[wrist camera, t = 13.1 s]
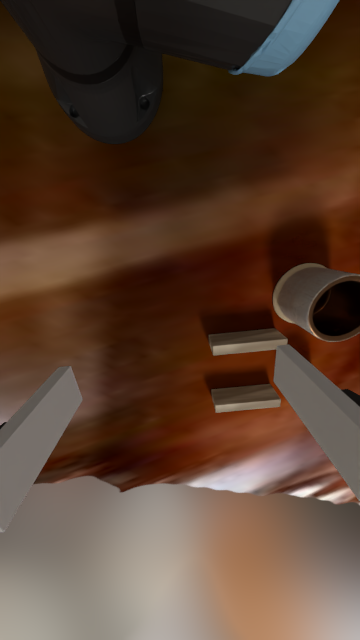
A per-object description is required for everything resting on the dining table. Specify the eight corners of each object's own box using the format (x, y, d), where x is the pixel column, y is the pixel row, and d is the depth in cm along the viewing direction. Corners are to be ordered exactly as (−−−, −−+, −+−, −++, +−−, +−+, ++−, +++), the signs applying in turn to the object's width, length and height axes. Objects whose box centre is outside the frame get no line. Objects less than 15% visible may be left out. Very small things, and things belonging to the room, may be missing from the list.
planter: (334, 259, 36) (386, 264, 27) (332, 313, 40) (377, 333, 31) (274, 274, 37) (306, 284, 28) (278, 326, 41) (307, 349, 32)
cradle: (208, 334, 41) (212, 346, 37) (274, 328, 41) (287, 339, 37) (211, 396, 47) (215, 412, 43) (269, 390, 47) (279, 406, 43)
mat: (274, 266, 37) (275, 266, 36) (339, 259, 36) (341, 260, 36) (270, 325, 41) (271, 326, 41) (328, 319, 41) (329, 320, 40)
